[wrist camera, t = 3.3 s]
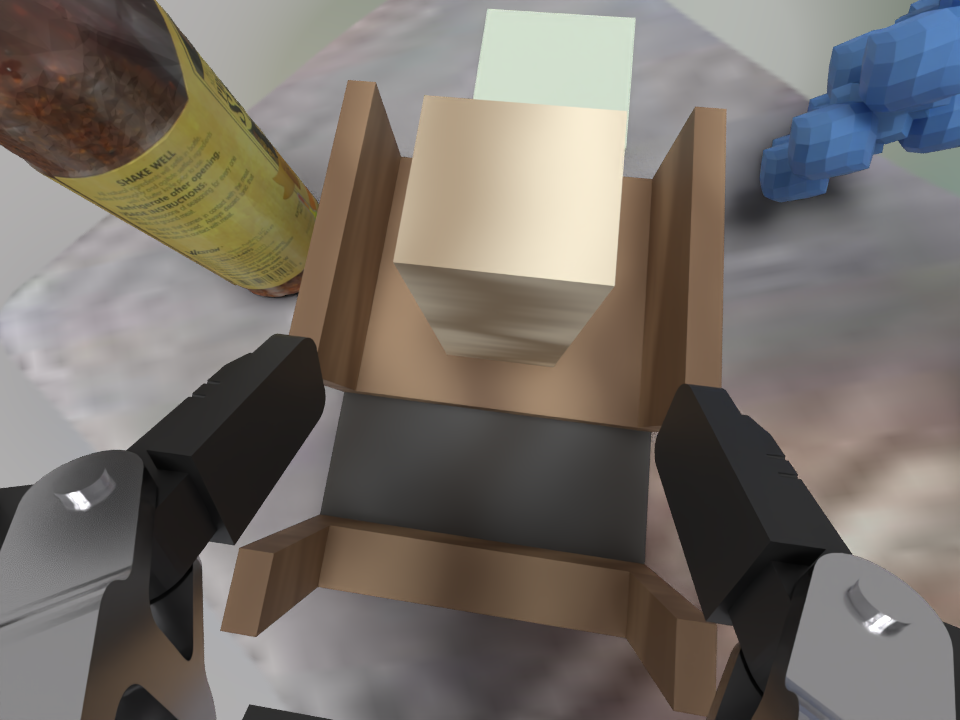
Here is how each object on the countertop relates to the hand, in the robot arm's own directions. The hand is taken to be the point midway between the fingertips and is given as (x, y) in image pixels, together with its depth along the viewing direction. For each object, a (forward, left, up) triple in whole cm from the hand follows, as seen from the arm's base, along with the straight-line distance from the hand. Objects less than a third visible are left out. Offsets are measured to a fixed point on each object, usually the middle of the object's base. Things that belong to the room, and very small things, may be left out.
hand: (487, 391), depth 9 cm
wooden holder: (0, -3, -11) cm, 12 cm away
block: (0, -5, -9) cm, 11 cm away
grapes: (-15, -15, -12) cm, 24 cm away
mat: (-1, -20, -11) cm, 23 cm away
